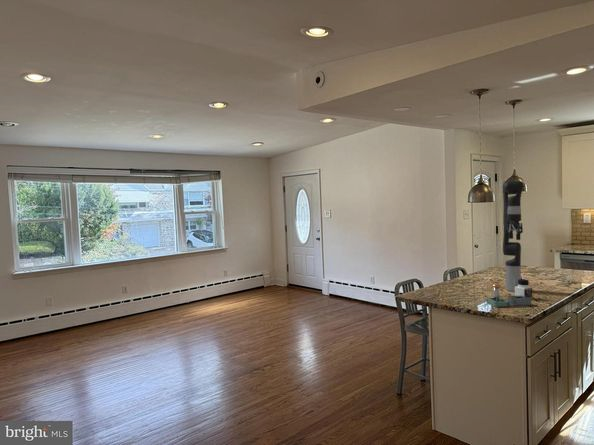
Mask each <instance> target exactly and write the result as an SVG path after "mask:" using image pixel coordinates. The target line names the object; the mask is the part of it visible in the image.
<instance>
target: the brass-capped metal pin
mask: <svg viewBox="0 0 594 445" xmlns="http://www.w3.org/2000/svg"><path fill="white" fill-rule="evenodd" d="M491 286H492V288H493V298H494V301H496V302H499V297H500V288H501V284H499V283H493V284H491Z"/></svg>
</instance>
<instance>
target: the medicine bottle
mask: <svg viewBox="0 0 594 445" xmlns="http://www.w3.org/2000/svg"><path fill="white" fill-rule="evenodd" d="M529 285H530V282H529V280H528V279H527V278H521V279H519V280H518V286H516V287H515V291H514V296H521V295H523V296H525V297H528V298H530V299H531V300H532V299H533V287H531V286H529Z"/></svg>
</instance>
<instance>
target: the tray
mask: <svg viewBox="0 0 594 445" xmlns="http://www.w3.org/2000/svg"><path fill="white" fill-rule="evenodd" d="M486 303H487V304H488V305H491V307H494V308H510V303H509V302H508V300H506V299H504V298H501V297H500V296H499V302H496V301H494V297H486Z"/></svg>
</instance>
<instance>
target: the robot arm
mask: <svg viewBox="0 0 594 445" xmlns="http://www.w3.org/2000/svg"><path fill="white" fill-rule="evenodd" d="M524 187H525V186H524V182H523V181H522V180H505V181H503V182H502V198H503V212H502V214H503V216H502V217H503V218H502V220H503V222H502V223H503V224H502V225H503V237H502V238H503V239H502V242H503V243H502V253H503V255H504V256H509V257H511V256H513V257H514V258H512V259H508V260H506V261H505V291H509V292H515V287H516V286H518V280H519V279H522V272H521V270H522V268H521V267H522V266H521V262H522V260H521V259H522V254H521V253H522V245H521V243H520V242H516V241H515V242H513V241H511V242H510V240H513V239H514V232H515V235H516V236H515V239H516V240H517V241H521V234H523V230H524V229H523V222H520V221H522V207H521V206H522V205H521V203H522V202H521V197H522V193H523V190H524ZM509 195H512V196H509Z"/></svg>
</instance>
